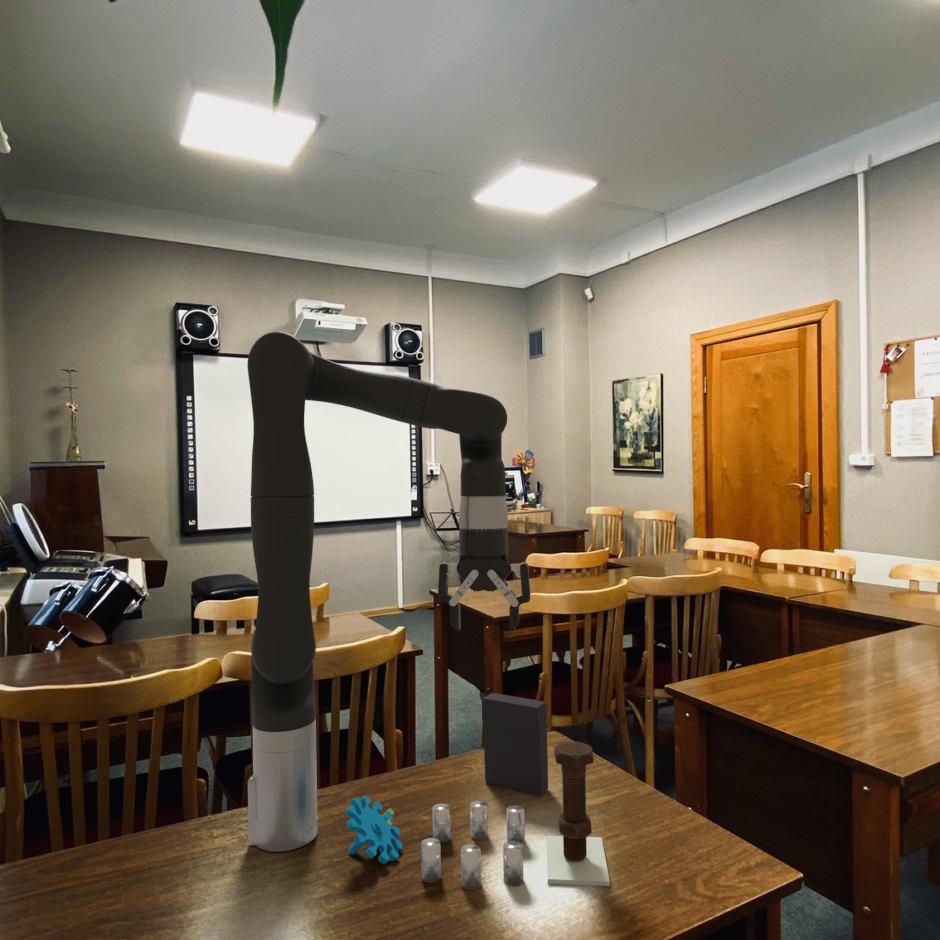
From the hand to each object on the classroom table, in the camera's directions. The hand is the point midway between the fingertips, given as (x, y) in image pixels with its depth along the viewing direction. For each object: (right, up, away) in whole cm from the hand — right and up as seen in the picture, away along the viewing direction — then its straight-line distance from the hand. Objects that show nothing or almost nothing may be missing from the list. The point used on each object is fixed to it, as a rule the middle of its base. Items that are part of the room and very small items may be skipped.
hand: (484, 629), depth 106 cm
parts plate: (+12, -29, -11) cm, 34 cm away
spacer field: (-2, -30, -10) cm, 31 cm away
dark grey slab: (+6, -30, +12) cm, 33 cm away
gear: (-16, -30, -8) cm, 35 cm away
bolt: (+12, -29, -11) cm, 34 cm away
